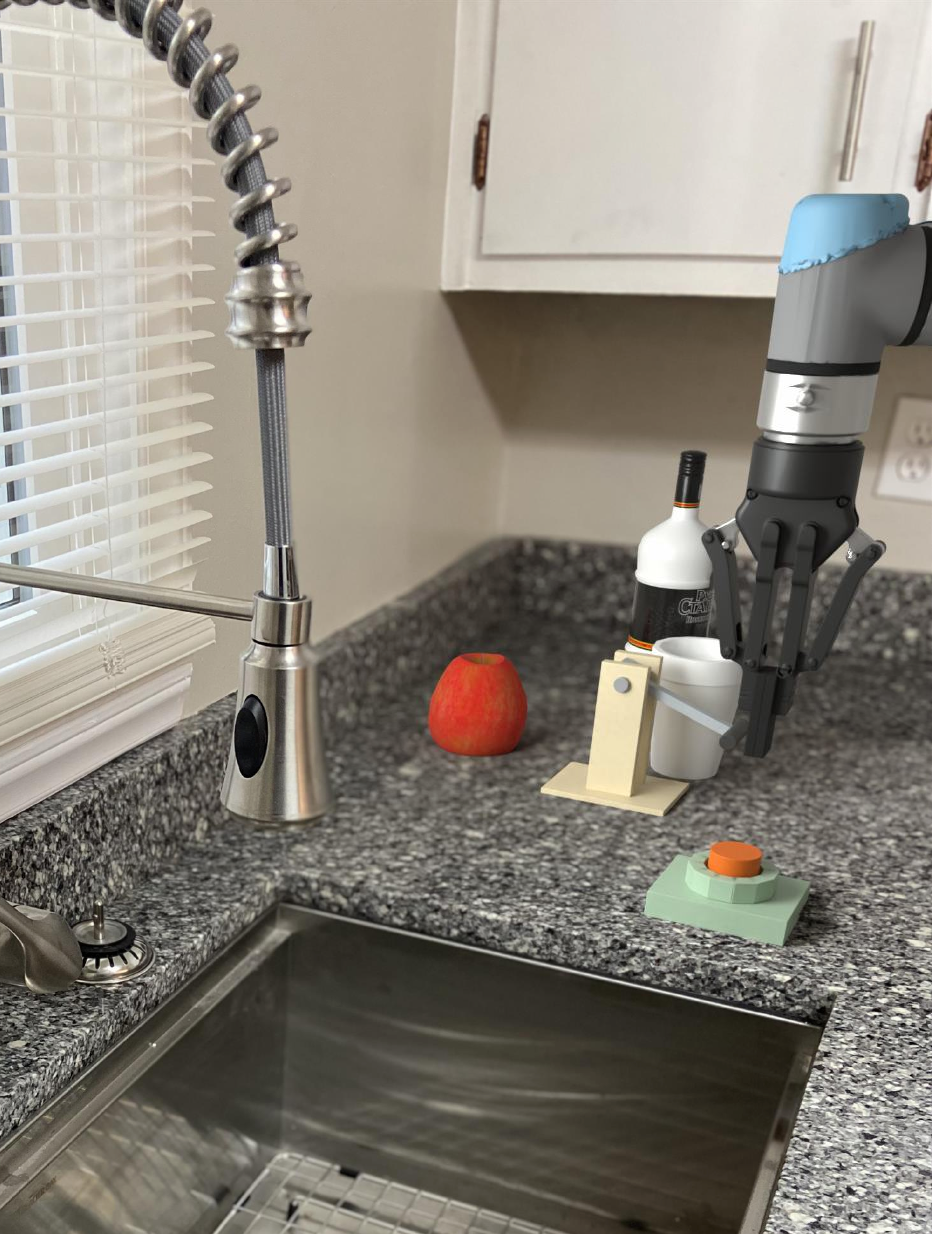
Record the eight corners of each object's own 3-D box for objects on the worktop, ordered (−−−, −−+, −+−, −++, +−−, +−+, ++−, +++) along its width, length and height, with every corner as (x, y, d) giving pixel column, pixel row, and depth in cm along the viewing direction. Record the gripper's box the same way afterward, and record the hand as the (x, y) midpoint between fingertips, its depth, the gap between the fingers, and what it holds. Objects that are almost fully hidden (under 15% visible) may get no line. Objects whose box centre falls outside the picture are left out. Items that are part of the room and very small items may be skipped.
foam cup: (743, 791, 147) (766, 662, 141) (649, 790, 147) (669, 662, 141) (713, 759, 156) (734, 637, 150) (625, 758, 156) (643, 636, 150)
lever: (743, 741, 140) (756, 719, 138) (728, 757, 135) (742, 735, 134) (620, 674, 143) (631, 652, 142) (602, 688, 139) (614, 666, 138)
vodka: (628, 719, 168) (667, 441, 154) (709, 735, 163) (756, 449, 149) (595, 740, 161) (632, 451, 147) (678, 757, 156) (724, 460, 143)
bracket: (687, 794, 146) (709, 657, 140) (661, 823, 139) (683, 680, 133) (570, 772, 152) (586, 639, 146) (539, 799, 145) (555, 660, 139)
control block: (806, 905, 123) (815, 861, 121) (782, 947, 116) (791, 900, 114) (674, 877, 128) (681, 834, 126) (643, 915, 121) (650, 870, 119)
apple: (498, 731, 164) (507, 637, 159) (540, 761, 155) (551, 662, 150) (412, 738, 161) (418, 642, 156) (449, 769, 152) (457, 669, 148)
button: (763, 867, 121) (767, 847, 120) (752, 884, 118) (755, 864, 117) (714, 857, 123) (717, 837, 122) (701, 873, 120) (704, 853, 119)
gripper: (704, 436, 106) (660, 752, 116) (899, 449, 100) (835, 780, 110) (730, 424, 112) (686, 726, 122) (916, 435, 106) (853, 752, 116)
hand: (757, 751), depth 116 cm, fingers closed
